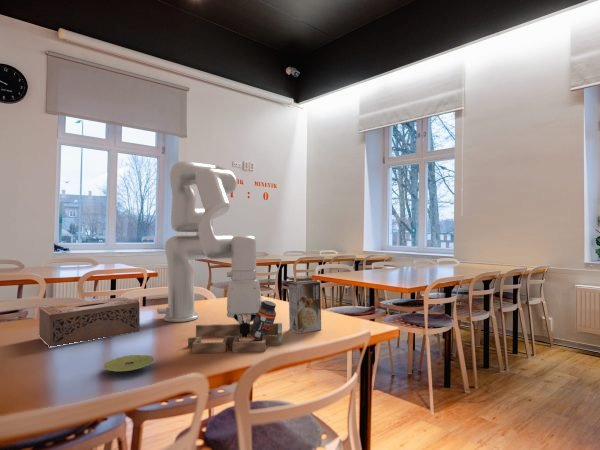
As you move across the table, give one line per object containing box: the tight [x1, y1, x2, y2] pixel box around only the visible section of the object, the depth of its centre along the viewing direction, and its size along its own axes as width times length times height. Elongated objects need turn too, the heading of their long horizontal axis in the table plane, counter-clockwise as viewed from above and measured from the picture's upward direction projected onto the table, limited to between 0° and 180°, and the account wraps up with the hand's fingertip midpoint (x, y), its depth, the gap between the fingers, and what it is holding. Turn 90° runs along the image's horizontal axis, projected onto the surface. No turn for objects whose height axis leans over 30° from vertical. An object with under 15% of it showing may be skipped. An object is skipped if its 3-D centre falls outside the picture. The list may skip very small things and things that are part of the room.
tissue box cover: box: [38, 296, 141, 347], centre depth 125 cm, size 26×14×10 cm, turn 134°
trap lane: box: [187, 322, 283, 354], centre depth 114 cm, size 27×17×4 cm, turn 93°
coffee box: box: [288, 279, 322, 334], centre depth 128 cm, size 9×6×16 cm
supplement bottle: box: [250, 299, 277, 341], centre depth 116 cm, size 6×6×11 cm
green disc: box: [102, 354, 155, 373], centre depth 93 cm, size 11×11×2 cm
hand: (244, 335), depth 117 cm, fingers closed
